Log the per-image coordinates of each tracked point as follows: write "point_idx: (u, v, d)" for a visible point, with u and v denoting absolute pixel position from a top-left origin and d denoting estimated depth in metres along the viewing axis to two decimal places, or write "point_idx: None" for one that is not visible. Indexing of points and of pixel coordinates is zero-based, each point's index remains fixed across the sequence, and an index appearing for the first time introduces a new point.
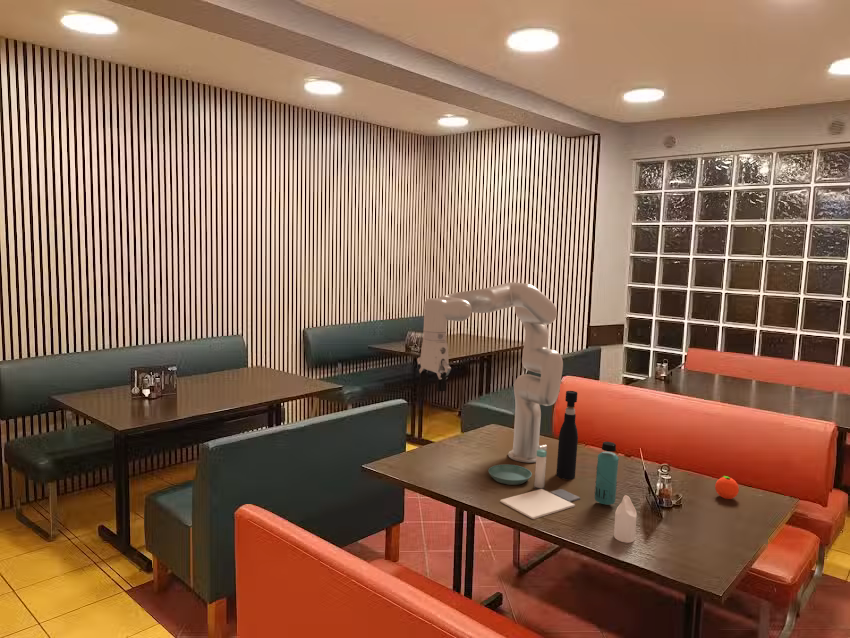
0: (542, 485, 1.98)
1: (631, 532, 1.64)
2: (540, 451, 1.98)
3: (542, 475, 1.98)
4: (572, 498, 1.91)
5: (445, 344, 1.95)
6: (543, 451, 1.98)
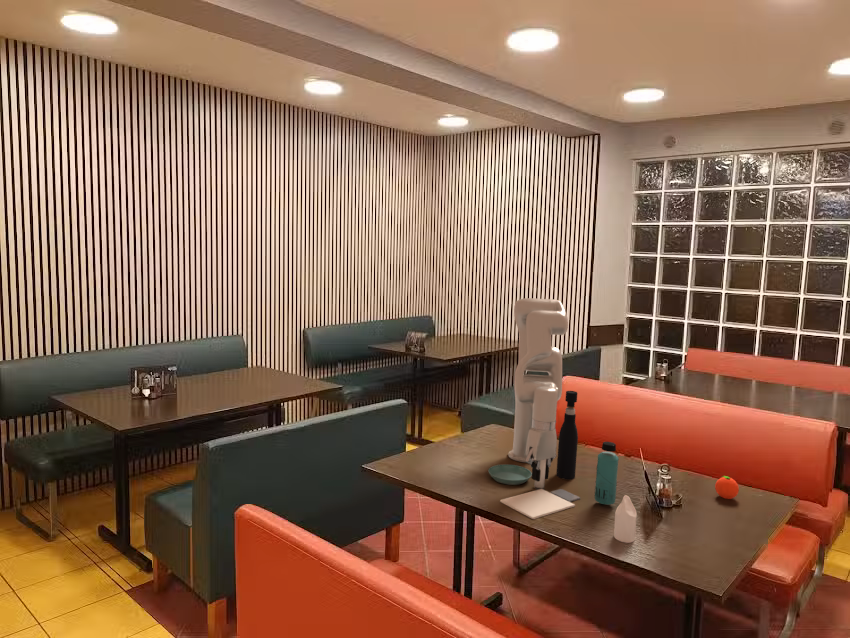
0: (542, 485, 1.98)
1: (631, 532, 1.64)
2: None
3: (542, 475, 1.98)
4: (572, 498, 1.91)
5: None
6: None
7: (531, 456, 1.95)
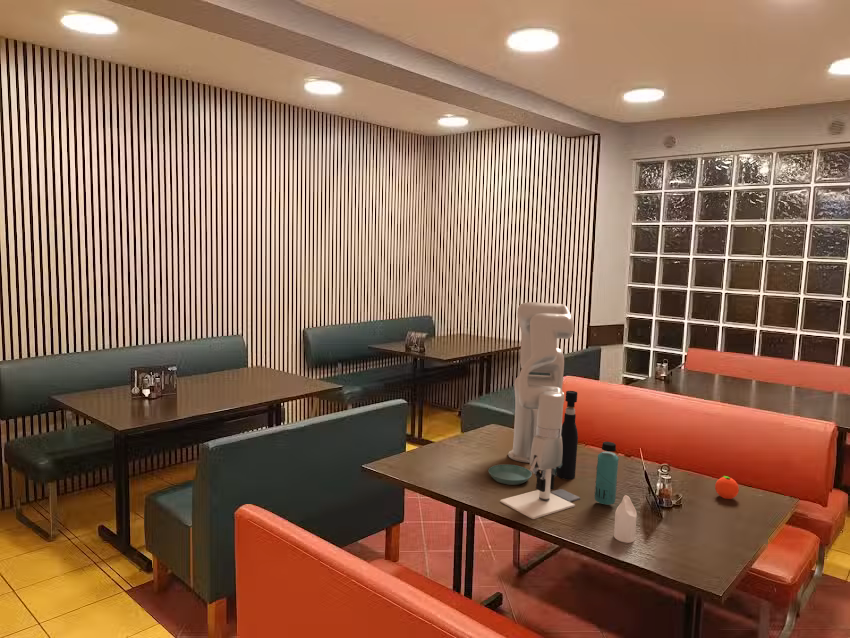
0: (547, 496, 1.87)
1: (631, 532, 1.64)
2: None
3: (547, 485, 1.87)
4: (572, 498, 1.91)
5: None
6: None
7: (536, 465, 1.84)
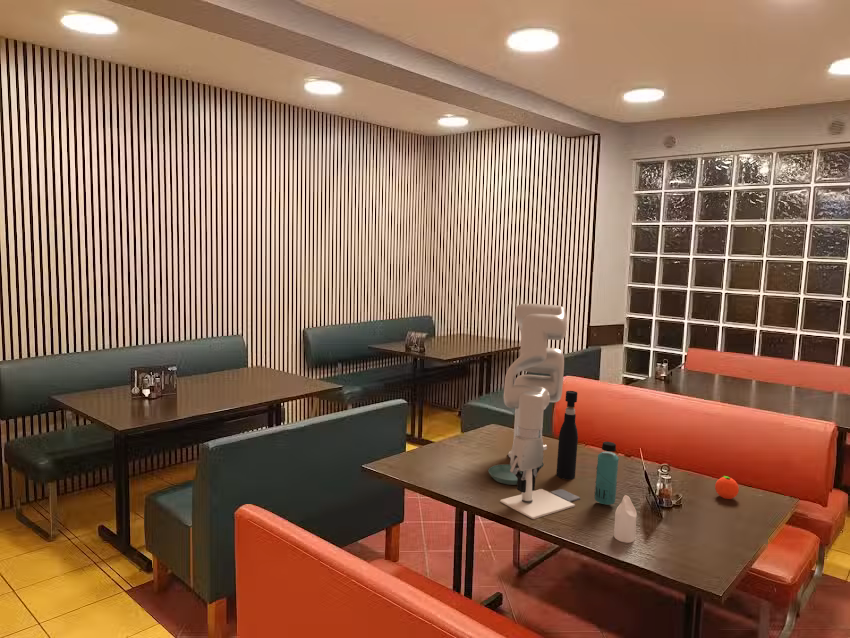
0: (528, 497, 1.85)
1: (631, 532, 1.64)
2: None
3: (528, 487, 1.85)
4: (572, 498, 1.91)
5: None
6: None
7: (516, 466, 1.83)
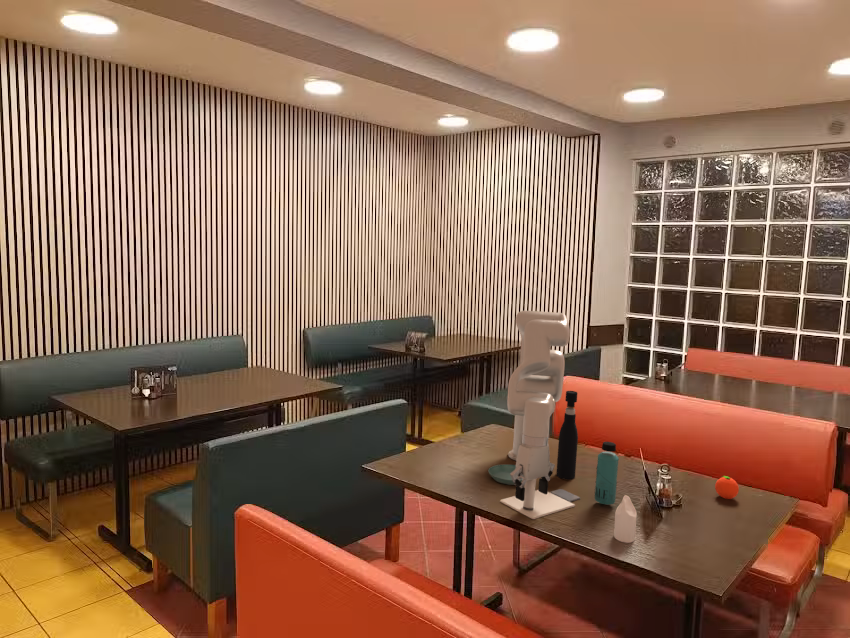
0: (530, 505, 1.80)
1: (631, 532, 1.64)
2: None
3: (530, 494, 1.80)
4: (572, 498, 1.91)
5: None
6: None
7: (518, 471, 1.75)
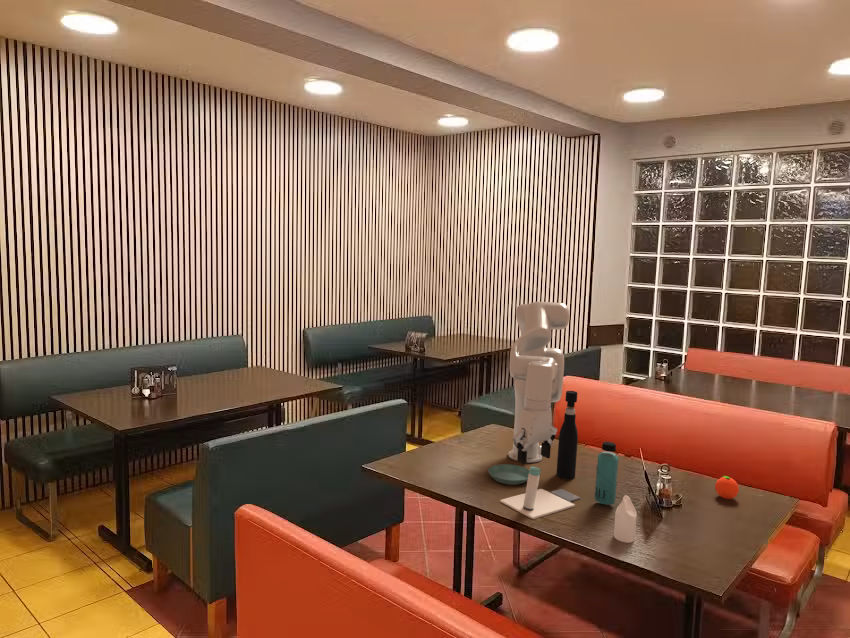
0: (530, 505, 1.80)
1: (631, 532, 1.64)
2: (533, 468, 1.79)
3: (532, 495, 1.79)
4: (572, 498, 1.91)
5: None
6: (537, 469, 1.79)
7: (520, 435, 1.74)
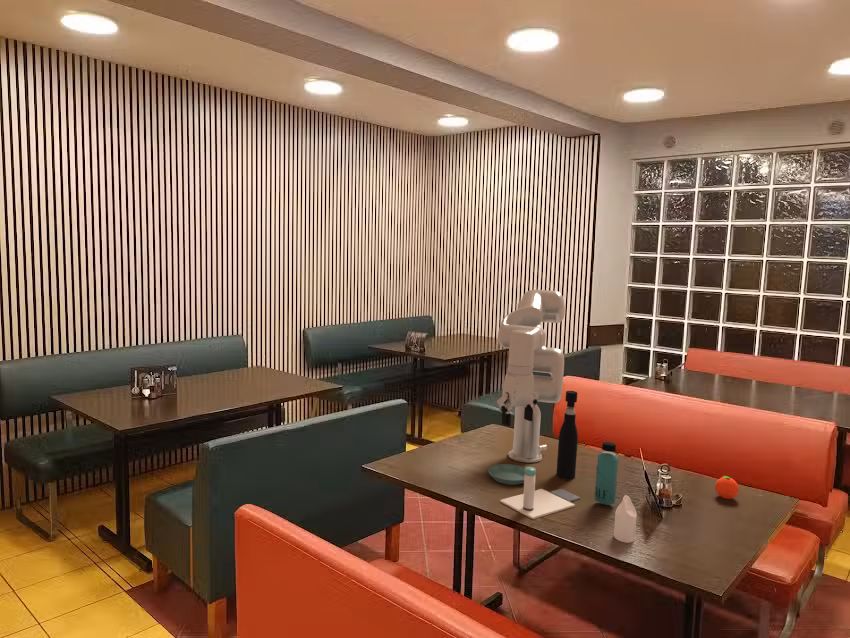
0: (530, 506, 1.80)
1: (631, 532, 1.64)
2: (528, 469, 1.79)
3: (530, 495, 1.79)
4: (572, 498, 1.91)
5: None
6: (532, 469, 1.79)
7: (504, 398, 1.85)
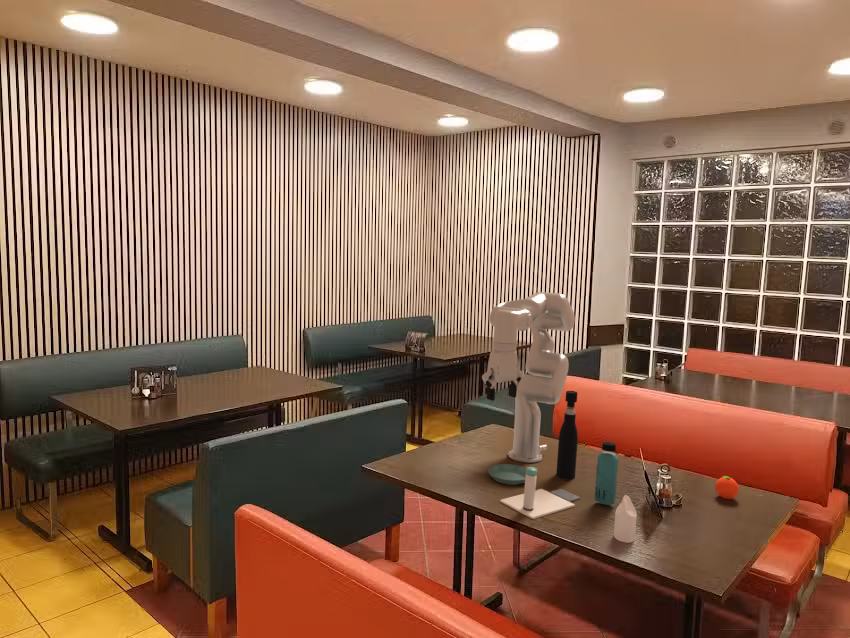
0: (530, 506, 1.80)
1: (631, 532, 1.64)
2: (530, 469, 1.79)
3: (530, 495, 1.79)
4: (572, 498, 1.91)
5: None
6: (533, 469, 1.79)
7: (489, 374, 1.96)
